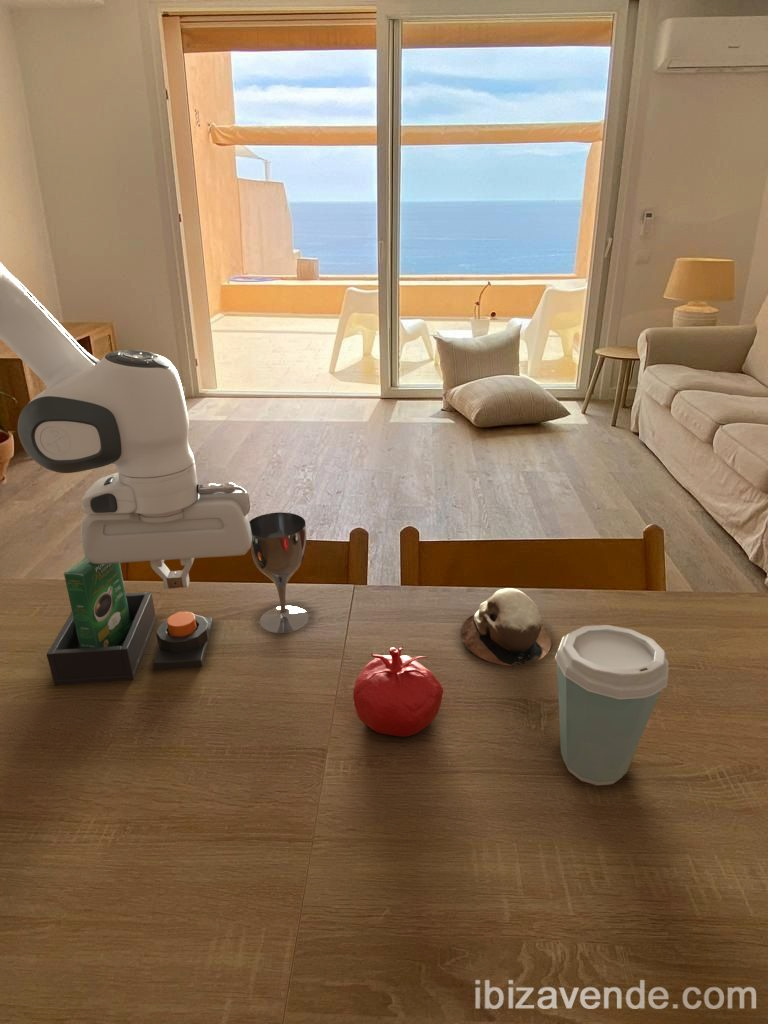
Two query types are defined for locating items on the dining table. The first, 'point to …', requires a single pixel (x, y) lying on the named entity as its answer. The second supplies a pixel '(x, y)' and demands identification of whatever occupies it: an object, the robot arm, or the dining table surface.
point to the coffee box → (98, 603)
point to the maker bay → (103, 649)
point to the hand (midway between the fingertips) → (177, 586)
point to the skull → (506, 629)
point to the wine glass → (279, 563)
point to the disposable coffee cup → (606, 698)
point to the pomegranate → (397, 694)
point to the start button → (181, 624)
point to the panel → (183, 646)
